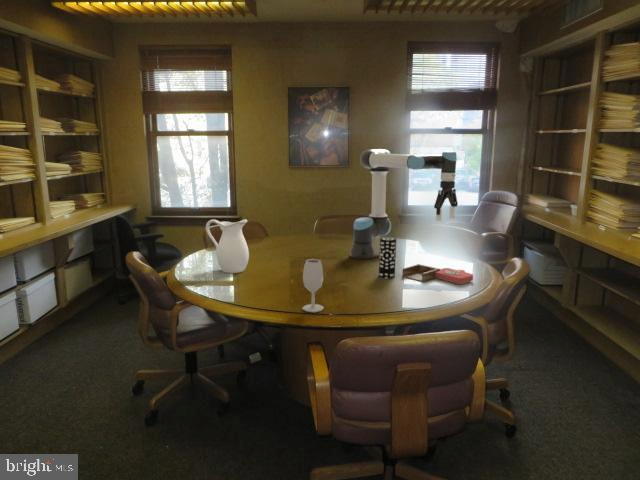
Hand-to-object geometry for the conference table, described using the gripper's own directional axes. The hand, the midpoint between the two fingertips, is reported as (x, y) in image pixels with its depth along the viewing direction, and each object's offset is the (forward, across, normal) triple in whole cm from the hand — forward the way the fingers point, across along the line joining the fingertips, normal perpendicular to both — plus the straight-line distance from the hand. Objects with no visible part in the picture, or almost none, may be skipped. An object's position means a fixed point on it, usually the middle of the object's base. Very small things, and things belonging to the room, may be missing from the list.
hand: (445, 219), depth 261 cm
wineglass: (+28, -99, +1) cm, 103 cm away
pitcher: (+28, -90, +78) cm, 122 cm away
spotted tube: (+28, -36, +11) cm, 47 cm away
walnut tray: (+28, -24, -2) cm, 37 cm away
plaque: (+27, -15, -16) cm, 35 cm away
